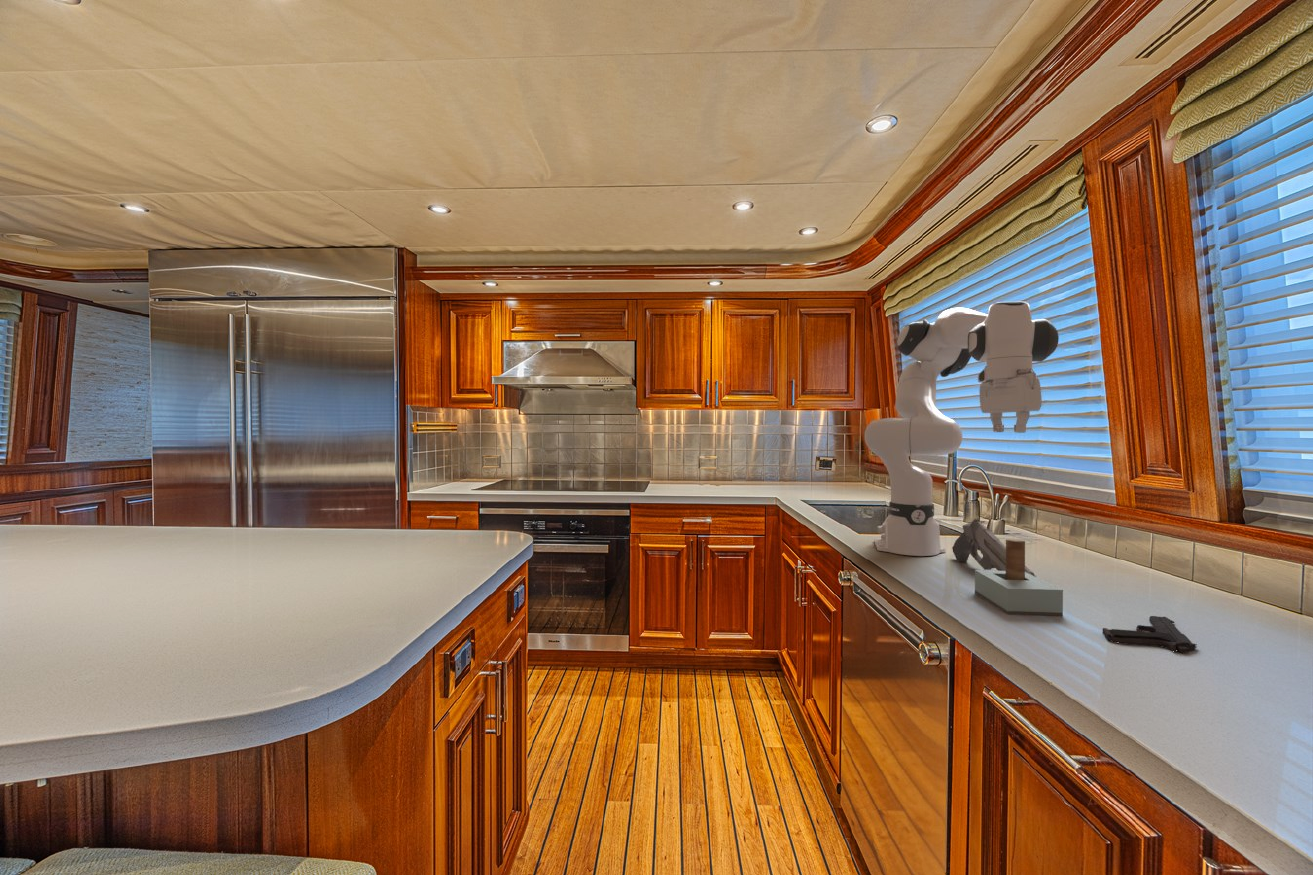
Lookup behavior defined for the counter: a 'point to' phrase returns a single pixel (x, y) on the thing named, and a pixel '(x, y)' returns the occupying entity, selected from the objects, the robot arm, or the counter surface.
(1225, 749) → the counter surface
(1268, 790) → the counter surface
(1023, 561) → the walnut dowel
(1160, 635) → the handgun
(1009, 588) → the socket block
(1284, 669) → the counter surface
